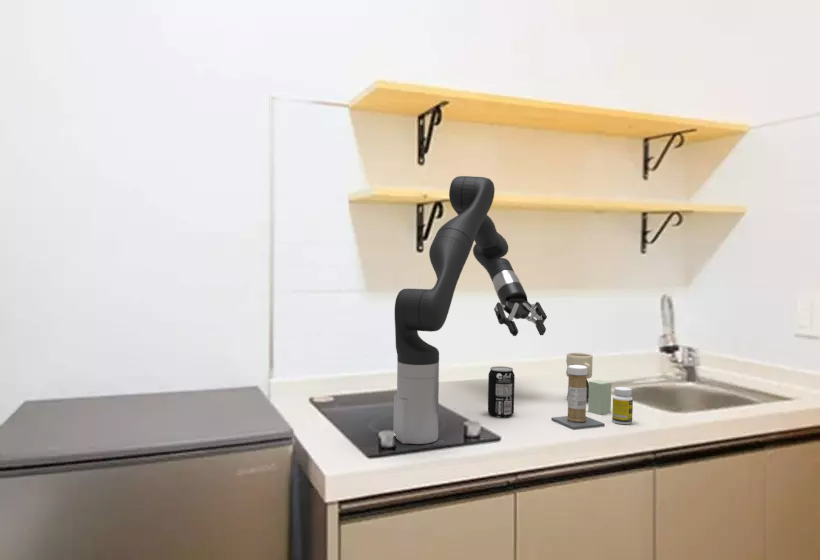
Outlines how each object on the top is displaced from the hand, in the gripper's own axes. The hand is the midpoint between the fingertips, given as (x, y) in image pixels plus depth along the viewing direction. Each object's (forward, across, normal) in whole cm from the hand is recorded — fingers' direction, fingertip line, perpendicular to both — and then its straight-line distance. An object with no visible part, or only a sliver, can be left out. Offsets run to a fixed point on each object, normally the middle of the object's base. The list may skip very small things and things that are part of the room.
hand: (529, 333), depth 175 cm
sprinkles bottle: (+28, +1, -1) cm, 28 cm away
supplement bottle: (+30, +12, -3) cm, 33 cm away
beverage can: (+19, -13, +9) cm, 25 cm away
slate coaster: (+28, +1, -1) cm, 28 cm away
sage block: (+23, +13, +4) cm, 27 cm away
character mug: (+14, +16, +14) cm, 25 cm away
